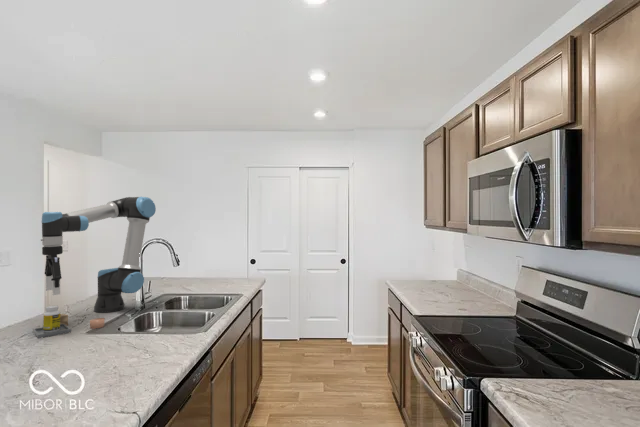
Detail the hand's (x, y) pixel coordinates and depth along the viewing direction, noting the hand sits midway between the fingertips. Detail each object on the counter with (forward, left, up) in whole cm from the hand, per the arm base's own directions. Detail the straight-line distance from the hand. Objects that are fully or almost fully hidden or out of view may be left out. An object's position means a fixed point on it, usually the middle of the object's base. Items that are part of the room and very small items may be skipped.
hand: (52, 292), depth 169 cm
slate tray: (0, 0, -18) cm, 18 cm away
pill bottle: (0, 0, -18) cm, 18 cm away
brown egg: (-17, +5, -18) cm, 25 cm away
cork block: (-5, -10, -18) cm, 21 cm away
